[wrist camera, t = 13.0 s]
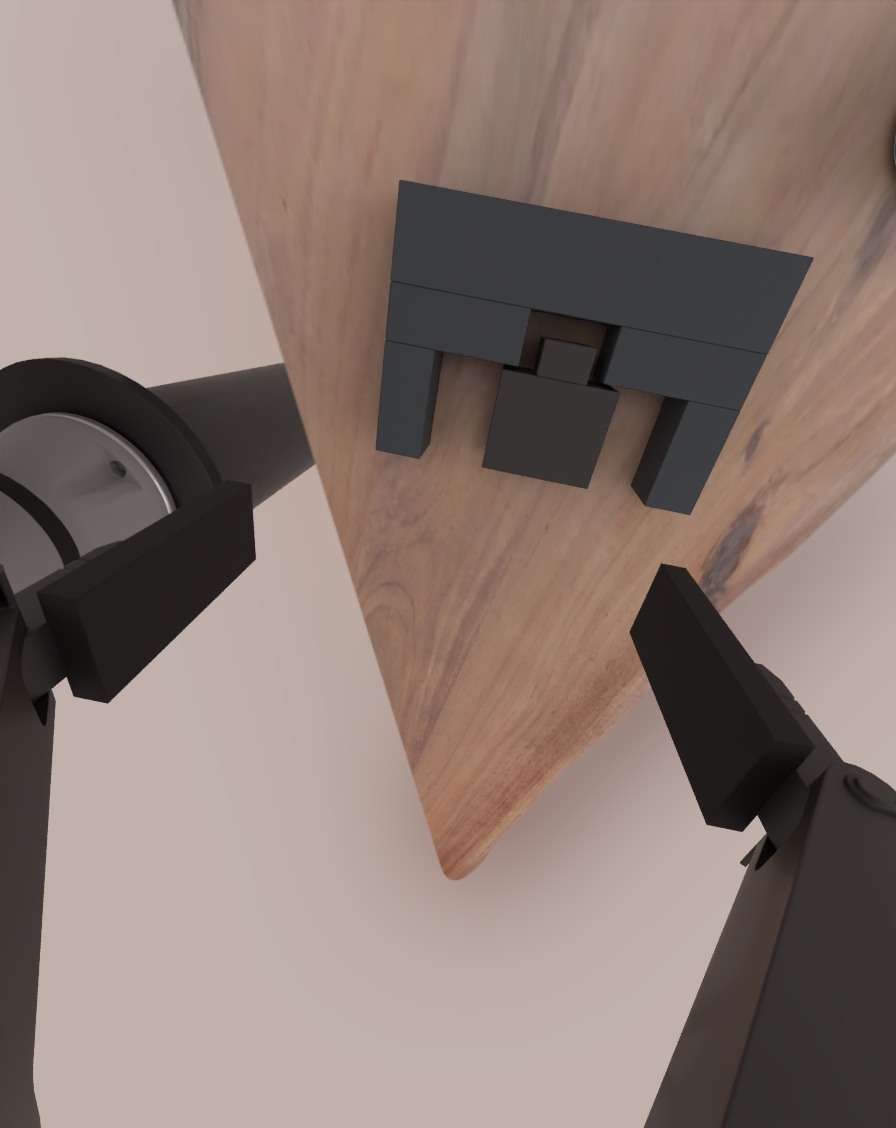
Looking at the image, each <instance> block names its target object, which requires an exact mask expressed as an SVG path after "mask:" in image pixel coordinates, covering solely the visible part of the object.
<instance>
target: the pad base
mask: <svg viewBox="0 0 896 1128" xmlns="http://www.w3.org/2000/svg"><path fill="white" fill-rule="evenodd" d="M813 259H814V258H813V257H808V256H802V255H797V254H792V253H787V252H781V251H776V250H771V249H765V248H760V247H755V246H749V245H744V244H739V243H733V242H728V241H723V240H717V239H712V238H707V237H701V236H696V235H691V234H685V233H680V232H675V231H669V230H664V229H659V228H654V227H648V226H643V225H638V224H632V223H627V222H622V221H616V220H611V219H606V218H600V217H595V216H590V215H584V214H579V213H574V212H568V211H563V210H558V209H552V208H547V207H542V206H536V205H531V204H526V203H521V202H515V201H510V200H505V199H499V198H494V197H489V196H483V195H478V194H473V193H467V192H462V191H457V190H451V189H446V188H441V187H435V186H430V185H425V184H419V183H414V182H409V181H403V180H400V181H399V192H398V203H397V214H396V226H395V237H394V248H393V259H392V271H391V281H392V282H391V284H390V295H389V306H388V317H387V329H386V341H385V349H384V361H383V372H382V383H381V394H380V406H379V417H378V428H377V439H376V450H379V451H384V452H388V453H393V454H398V455H403V456H408V457H413V458H417V459H420V457H421V456H422V454H423V453H424V451H425V450H426V448H427V447H428V445H429V444H430V437H431V431H432V424H433V417H434V411H435V404H436V397H437V390H438V384H439V377H440V370H441V364H442V357H443V352H447V353H452V354H457V355H462V356H467V357H472V358H477V359H482V360H487V361H492V362H497V363H502V364H507V365H512V366H518V365H519V362H520V358H521V353H522V349H523V345H524V340H525V336H526V331H527V327H528V323H529V318H530V314H531V310H533V311H538V312H543V313H548V314H553V315H558V316H564V317H569V318H574V319H579V320H584V321H589V322H594V323H599V324H604V325H610V326H608V329H607V332H606V335H605V338H604V341H603V345H602V348H601V351H600V354H599V358H598V361H597V364H596V367H595V371H594V374H593V376H594V377H595V378H597V379H598V380H599V381H601V382H602V383H604V384H607V385H612V386H617V387H622V388H627V389H632V390H637V391H642V392H647V393H652V394H657V395H662V396H666V398H665V401H664V403H663V406H662V408H661V411H660V413H659V416H658V418H657V421H656V423H655V426H654V429H653V431H652V434H651V436H650V439H649V441H648V444H647V446H646V449H645V451H644V454H643V456H642V459H641V461H640V464H639V467H638V469H637V472H636V474H635V477H634V479H633V482H632V484H631V487H632V488H633V490H634V491H635V492H636V494H637V495H638V497H639V498H640V500H641V501H642V502H643V504H644V505H645V506H648V507H653V508H658V509H663V510H668V511H672V512H677V513H682V514H687V515H691V513H692V510H693V508H694V506H695V504H696V502H697V500H698V498H699V496H700V494H701V492H702V490H703V488H704V486H705V483H706V481H707V479H708V477H709V475H710V473H711V471H712V469H713V467H714V465H715V463H716V461H717V458H718V456H719V454H720V452H721V450H722V448H723V446H724V444H725V442H726V440H727V438H728V436H729V434H730V431H731V429H732V427H733V425H734V423H735V421H736V419H737V417H738V415H739V413H740V410H741V408H742V406H743V404H744V402H745V400H746V398H747V396H748V394H749V392H750V389H751V387H752V385H753V383H754V381H755V379H756V377H757V375H758V373H759V371H760V369H761V367H762V365H763V362H764V360H765V358H766V356H767V355H766V354H768V352H769V350H770V348H771V346H772V344H773V342H774V340H775V338H776V336H777V334H778V332H779V329H780V327H781V325H782V323H783V321H784V319H785V317H786V315H787V313H788V311H789V309H790V307H791V305H792V302H793V300H794V298H795V296H796V294H797V292H798V290H799V288H800V286H801V284H802V282H803V280H804V277H805V275H806V273H807V271H808V269H809V267H810V265H811V263H812V261H813Z"/></svg>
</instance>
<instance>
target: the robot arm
mask: <svg viewBox="0 0 896 1128" xmlns="http://www.w3.org/2000/svg"><path fill="white" fill-rule="evenodd" d="M255 559H256V554H255V538H254V522H253V507H252V491H251V484H247V483H242V482H237V481H232V480H226V481H224V482H223V483H221V484H219V485H218V486H216V487H214V488H212V489H211V490H209V491H207V492H206V493H204V494H202V495H201V496H199V497H197V498H195V499H194V500H192V501H190V502H189V503H187V504H185V505H183V506H182V507H180V508H179V504H178V501H177V499H176V496H175V494H174V492H173V489H172V487H171V485H170V484H169V482H168V480H167V478H166V477H165V475H164V474H163V472H162V471H161V469H160V468H159V467H158V466H157V464H156V463H155V462H154V461H153V459H152V458H151V457H150V456H149V455H148V454H147V453H146V452H145V451H144V450H143V449H142V448H141V447H140V446H139V445H138V444H137V443H135V442H134V441H133V440H132V439H131V438H129V437H128V436H127V435H125V434H124V433H122V432H121V431H119V430H118V429H116V428H115V427H113V426H111V425H109V424H107V423H105V422H103V421H101V420H99V419H96V418H94V417H91V416H88V415H84V414H80V413H75V412H65V411H59V412H50V413H45V414H40V415H35V416H31V417H28V418H25V419H23V420H20V421H18V422H16V423H13V424H12V425H10V426H8V427H7V428H5V429H4V430H3V431H2V432H0V1128H41V1125H40V1116H39V1112H38V1108H37V1102H36V1098H35V1094H34V1084H33V1057H34V1042H35V1024H36V1010H37V994H38V993H37V992H38V977H39V962H40V945H41V929H42V913H43V897H44V896H43V895H44V881H45V864H46V849H47V848H46V847H47V832H48V816H49V800H50V784H51V766H52V752H53V735H54V718H55V703H56V701H55V698H54V695H53V692H52V690H51V689H52V688H53V687H54V686H56V685H57V684H58V683H59V682H60V681H62V680H63V679H64V678H65V677H67V679H68V682H69V685H70V687H71V690H72V693H73V696H74V697H79V698H83V699H89V700H93V701H98V702H103V703H109V702H110V701H111V700H112V699H113V698H114V697H115V696H116V695H117V694H118V693H119V692H120V691H121V690H122V689H123V688H124V687H125V686H126V685H127V684H128V683H129V682H130V681H131V680H132V679H133V678H135V677H136V676H137V674H139V673H140V672H141V671H142V670H143V669H144V668H145V667H146V666H147V665H148V664H149V663H150V662H151V661H152V660H153V659H154V658H155V657H156V656H157V655H158V654H159V653H160V652H161V651H162V650H163V649H164V648H165V647H166V646H167V645H168V644H169V643H170V642H171V641H172V640H174V639H175V638H176V637H177V635H179V634H180V633H181V632H182V631H183V629H185V628H186V627H187V626H188V625H189V624H190V623H191V622H192V621H193V620H194V619H195V618H196V617H197V616H198V615H199V614H200V613H201V612H202V611H203V610H204V609H205V608H206V607H207V606H208V605H209V604H210V603H211V602H212V601H213V600H215V598H217V597H218V596H219V595H220V594H221V593H222V592H223V591H224V590H225V589H226V588H227V587H228V586H229V585H230V584H231V583H232V582H233V581H234V580H235V579H236V578H237V577H238V576H239V575H240V574H241V573H242V572H243V571H244V570H245V569H246V568H247V567H248V566H249V565H250V564H251V563H252V562H253V561H254V560H255ZM630 635H631V637H632V640H633V642H634V645H635V647H636V650H637V652H638V655H639V657H640V660H641V662H642V665H643V667H644V670H645V672H646V675H647V677H648V680H649V682H650V685H651V687H652V690H653V692H654V695H655V697H656V700H657V702H658V705H659V707H660V710H661V712H662V715H663V717H664V720H665V722H666V725H667V727H668V729H669V732H670V735H671V737H672V740H673V742H674V745H675V747H676V750H677V752H678V755H679V757H680V760H681V762H682V764H683V767H684V770H685V772H686V775H687V777H688V780H689V782H690V785H691V787H692V789H693V792H694V795H695V797H696V800H697V802H698V805H699V807H700V810H701V812H702V815H703V817H704V819H705V822H706V824H707V825H711V826H716V827H720V828H726V829H730V830H736V831H740V832H743V831H744V830H745V828H746V827H747V826H748V825H749V824H750V822H751V821H752V820H753V819H754V818H755V817H756V816H757V815H758V817H759V819H760V821H761V823H762V825H763V827H764V828H765V831H766V832H767V833H766V835H765V836H764V837H763V838H762V839H761V840H760V841H759V842H758V843H757V845H756V846H755V847H754V848H753V849H752V850H751V851H750V852H749V853H748V854H747V855H746V856H745V857H744V858H743V860H742V861H741V862H740V863H741V864H742V865H744V866H745V867H746V866H747V865H748V864H749V863H750V864H749V866H748V869H747V871H746V874H745V876H744V879H743V881H742V884H741V886H740V889H739V891H738V894H737V896H736V899H735V901H734V904H733V906H732V909H731V911H730V914H729V916H728V918H727V921H726V924H725V926H724V928H723V931H722V933H721V936H720V938H719V941H718V944H717V946H716V948H715V951H714V953H713V956H712V958H711V961H710V964H709V966H708V968H707V971H706V973H705V976H704V978H703V981H702V983H701V986H700V988H699V991H698V994H697V996H696V998H695V1001H694V1003H693V1006H692V1008H691V1011H690V1013H689V1016H688V1018H687V1021H686V1023H685V1026H684V1028H683V1031H682V1033H681V1036H680V1039H679V1041H678V1044H677V1046H676V1048H675V1051H674V1053H673V1056H672V1059H671V1061H670V1064H669V1066H668V1068H667V1071H666V1073H665V1076H664V1078H663V1081H662V1083H661V1086H660V1088H659V1091H658V1094H657V1096H656V1098H655V1101H654V1103H653V1106H652V1108H651V1111H650V1113H649V1116H648V1119H647V1121H646V1123H645V1126H644V1128H896V791H895V790H894V789H893V788H891V787H890V786H889V785H888V784H887V783H885V782H884V781H882V780H881V779H880V778H878V777H877V776H875V775H874V774H872V773H870V772H868V771H866V770H864V769H862V768H860V767H858V766H856V765H852V764H848V763H845V762H843V760H842V759H841V758H840V757H839V755H838V754H837V752H836V751H835V750H834V749H833V747H832V746H831V745H830V743H829V742H828V741H827V739H826V738H825V737H824V736H823V734H822V733H821V732H820V730H819V729H818V728H817V726H816V725H815V724H814V722H813V721H812V720H811V719H810V717H809V716H808V715H805V711H804V710H803V708H802V707H801V705H800V704H799V703H798V702H797V701H795V700H794V696H793V695H792V694H791V692H790V691H789V690H788V689H787V687H786V686H785V685H784V683H783V682H782V681H781V680H780V679H779V678H778V677H776V676H775V675H774V674H773V673H772V672H770V671H769V670H768V669H767V668H766V667H764V666H763V665H761V664H756V663H754V661H753V660H752V659H751V657H750V656H749V654H748V653H747V652H746V651H745V649H744V648H743V646H742V645H741V644H740V642H739V641H738V640H737V638H736V637H735V635H734V634H733V633H732V631H731V630H730V629H729V627H728V626H727V624H726V623H725V622H724V620H723V619H722V617H721V616H720V615H719V613H718V612H717V611H716V609H715V608H714V606H713V605H712V604H711V602H710V601H709V600H708V598H707V597H706V595H705V594H704V593H703V591H702V590H701V589H700V587H699V586H698V584H697V583H696V582H695V580H694V579H693V578H692V576H691V575H690V573H689V572H688V571H687V569H686V568H682V567H677V566H672V565H667V564H662V563H661V565H660V567H659V569H658V572H657V574H656V576H655V578H654V580H653V582H652V585H651V587H650V589H649V591H648V593H647V595H646V598H645V600H644V602H643V604H642V606H641V608H640V611H639V613H638V615H637V617H636V619H635V621H634V624H633V626H632V628H631V630H630Z"/></svg>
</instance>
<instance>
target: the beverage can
mask: <svg viewBox="0 0 896 1128" xmlns="http://www.w3.org/2000/svg"><path fill="white" fill-rule="evenodd" d="M894 157H895V163H896V135H895V144H894Z"/></svg>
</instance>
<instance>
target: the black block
mask: <svg viewBox="0 0 896 1128" xmlns="http://www.w3.org/2000/svg"><path fill="white" fill-rule="evenodd" d="M596 353H597V348H594V347H591V346H588V345H584V344H579V343H574V342H569V341H564V340H559V339H554V338H549V337H544V336H543V337H541V341H540V345H539V349H538V353H537V357H536V362H535V366H534V369H529V368H524V367H519V366H512V365H507V364H504V366H503V370H502V375H501V379H500V384H499V389H498V393H497V398H496V403H495V408H494V412H493V417H492V422H491V426H490V431H489V436H488V440H487V445H486V450H485V455H484V459H483V464H482V467H483V468H488V469H493V470H498V471H503V472H507V473H512V474H517V475H522V476H527V477H532V478H537V479H541V480H546V481H551V482H556V483H561V484H566V485H571V486H575V487H580V488H585V489H587V488H588V485H589V482H590V480H591V477H592V474H593V471H594V468H595V465H596V462H597V459H598V456H599V453H600V450H601V448H602V445H603V442H604V439H605V436H606V433H607V430H608V427H609V424H610V421H611V418H612V415H613V413H614V410H615V407H616V404H617V401H618V398H619V395H620V393H619V392H618V391H616V390H615V389H614V388H612V387H611V386H609V385H607V384H604V383H599V382H594V381H589V380H588V379H589V376H590V373H591V369H592V366H593V363H594V359H595V356H596Z"/></svg>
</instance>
